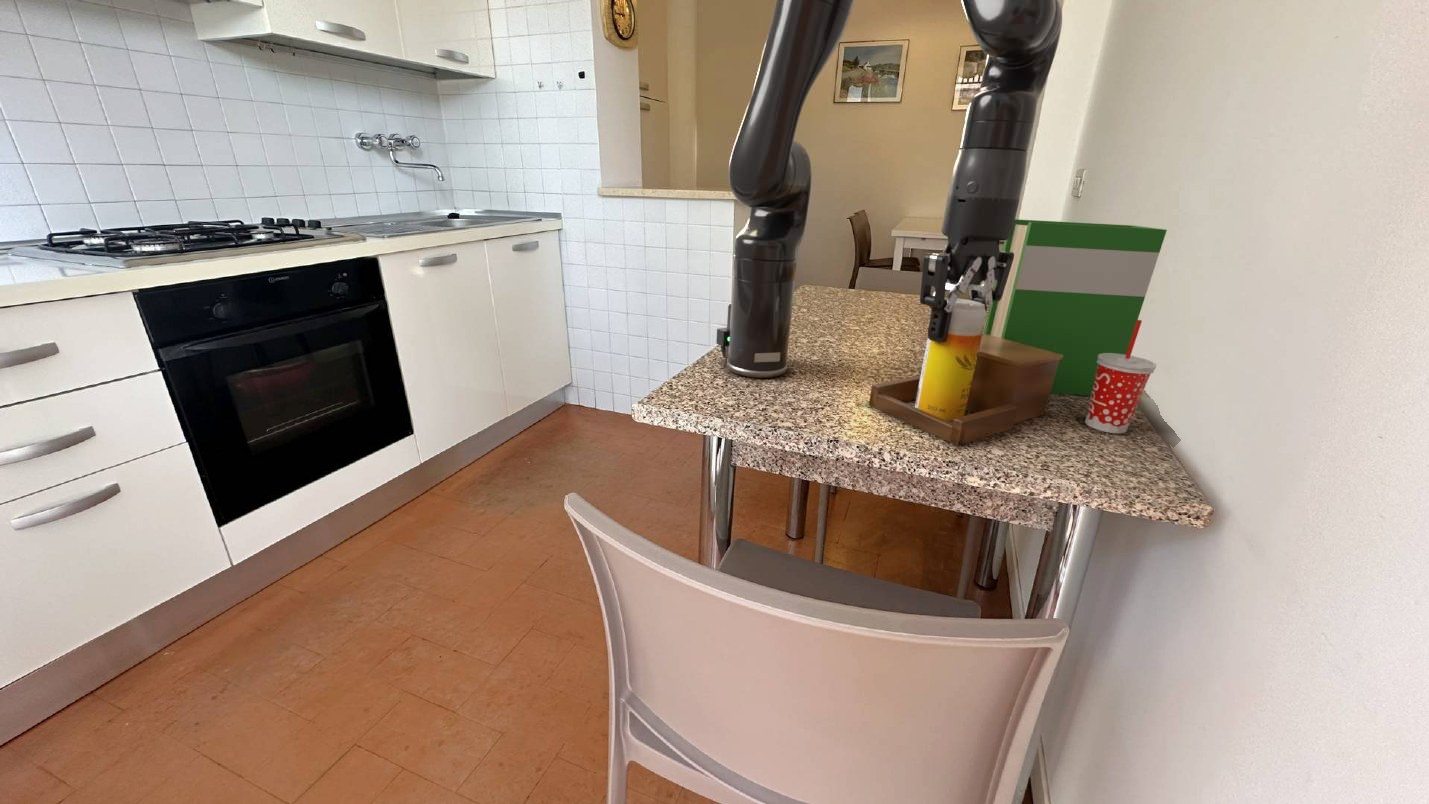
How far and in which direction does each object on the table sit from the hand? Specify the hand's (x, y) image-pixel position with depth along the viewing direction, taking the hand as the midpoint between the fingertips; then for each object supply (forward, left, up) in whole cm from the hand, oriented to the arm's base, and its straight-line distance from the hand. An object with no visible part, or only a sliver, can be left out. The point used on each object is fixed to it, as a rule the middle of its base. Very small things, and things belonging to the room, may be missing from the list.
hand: (954, 337), depth 71 cm
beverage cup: (+12, +18, -11) cm, 24 cm away
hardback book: (-2, +27, -11) cm, 29 cm away
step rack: (0, +6, -11) cm, 12 cm away
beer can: (0, 0, -11) cm, 11 cm away
